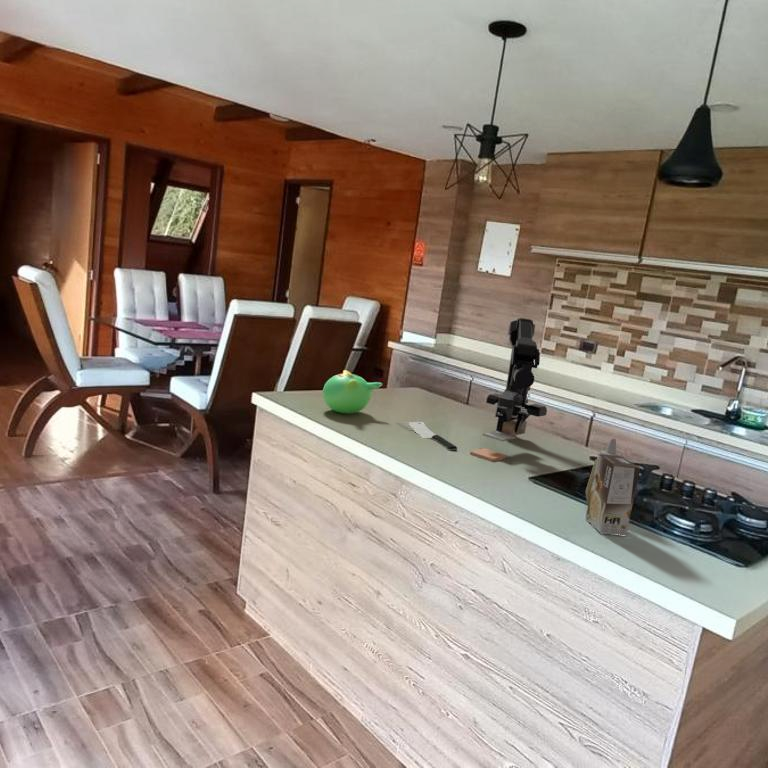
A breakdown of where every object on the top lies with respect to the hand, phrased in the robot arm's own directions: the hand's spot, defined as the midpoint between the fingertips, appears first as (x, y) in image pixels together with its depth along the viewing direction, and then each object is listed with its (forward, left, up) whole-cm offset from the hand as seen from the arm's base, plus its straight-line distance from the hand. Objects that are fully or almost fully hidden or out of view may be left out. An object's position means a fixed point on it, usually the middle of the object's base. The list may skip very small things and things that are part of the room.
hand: (511, 431), depth 201 cm
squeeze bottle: (+26, +40, -7) cm, 48 cm away
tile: (+13, 0, -6) cm, 14 cm away
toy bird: (+17, -56, -7) cm, 59 cm away
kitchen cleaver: (+13, -23, -7) cm, 27 cm away
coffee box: (+38, +46, -7) cm, 60 cm away
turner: (+3, 0, -1) cm, 3 cm away
